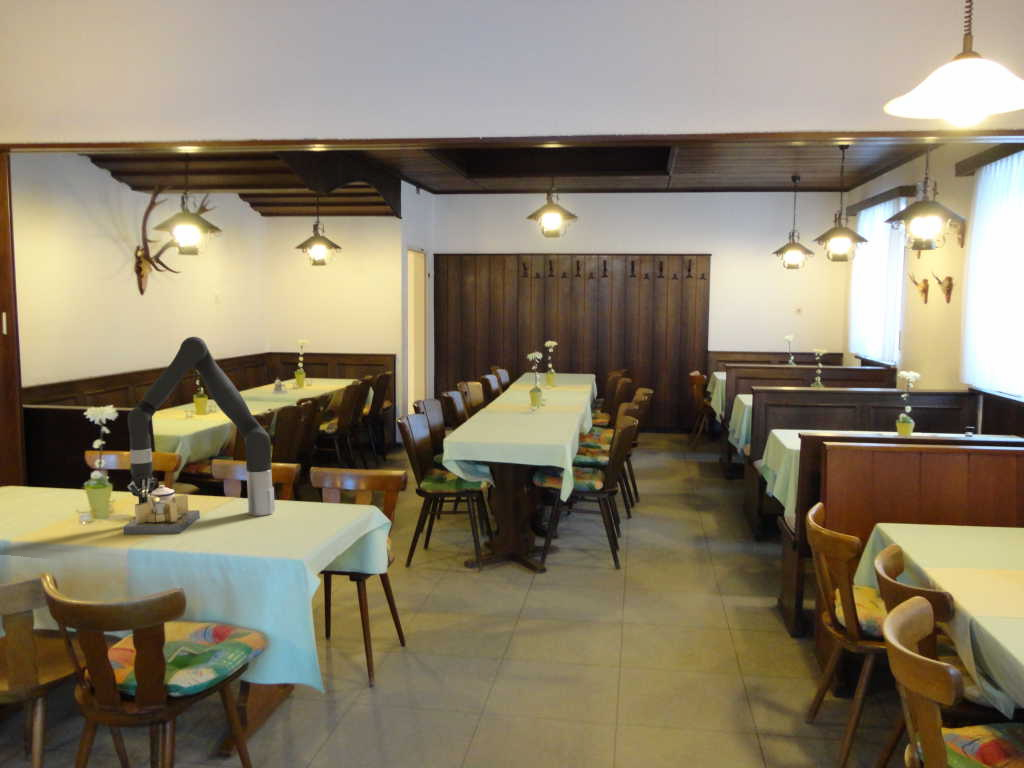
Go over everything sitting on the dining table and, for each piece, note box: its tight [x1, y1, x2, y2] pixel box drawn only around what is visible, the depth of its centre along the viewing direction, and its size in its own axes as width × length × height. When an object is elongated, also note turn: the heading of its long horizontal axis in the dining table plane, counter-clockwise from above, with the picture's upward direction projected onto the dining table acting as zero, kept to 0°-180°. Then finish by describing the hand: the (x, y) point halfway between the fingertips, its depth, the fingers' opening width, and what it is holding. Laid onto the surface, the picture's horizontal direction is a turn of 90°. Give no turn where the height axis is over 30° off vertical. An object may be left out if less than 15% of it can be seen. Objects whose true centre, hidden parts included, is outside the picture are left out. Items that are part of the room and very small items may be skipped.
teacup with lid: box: [148, 484, 175, 502], centre depth 313 cm, size 12×9×12 cm
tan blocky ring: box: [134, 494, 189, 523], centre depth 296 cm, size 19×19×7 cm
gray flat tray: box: [123, 500, 201, 536], centre depth 296 cm, size 20×20×9 cm
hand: (143, 506), depth 298 cm, fingers closed
